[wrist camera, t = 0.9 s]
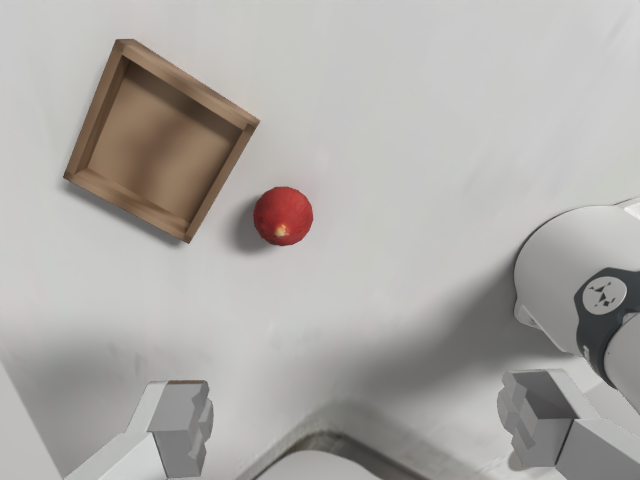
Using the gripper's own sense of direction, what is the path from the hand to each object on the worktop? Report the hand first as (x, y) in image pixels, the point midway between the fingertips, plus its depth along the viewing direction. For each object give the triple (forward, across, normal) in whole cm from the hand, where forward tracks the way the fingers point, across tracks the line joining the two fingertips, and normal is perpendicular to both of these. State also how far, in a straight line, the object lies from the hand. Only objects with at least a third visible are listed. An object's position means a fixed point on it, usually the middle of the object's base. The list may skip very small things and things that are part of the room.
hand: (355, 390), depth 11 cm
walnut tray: (+32, +16, +1) cm, 36 cm away
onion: (+32, +4, +8) cm, 34 cm away
